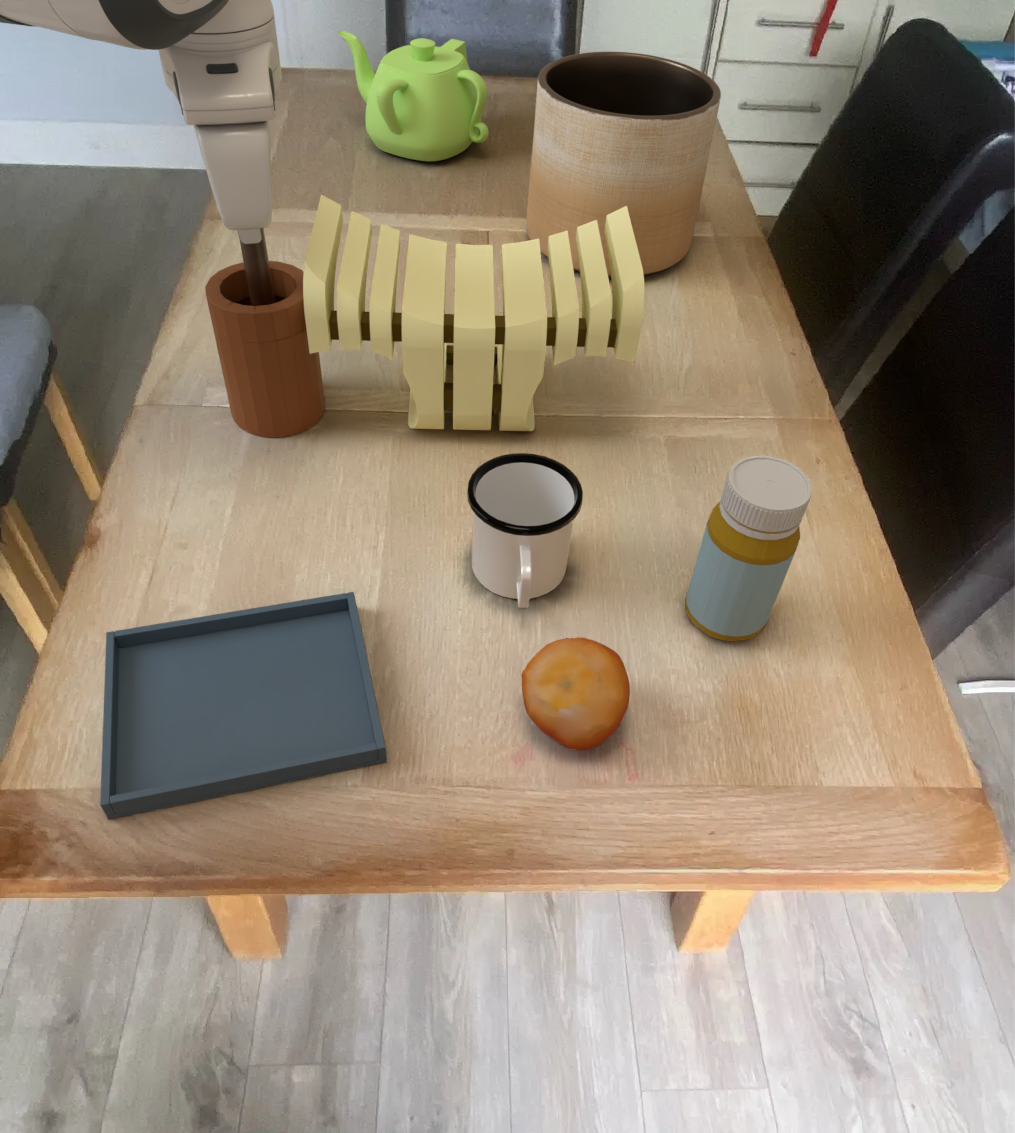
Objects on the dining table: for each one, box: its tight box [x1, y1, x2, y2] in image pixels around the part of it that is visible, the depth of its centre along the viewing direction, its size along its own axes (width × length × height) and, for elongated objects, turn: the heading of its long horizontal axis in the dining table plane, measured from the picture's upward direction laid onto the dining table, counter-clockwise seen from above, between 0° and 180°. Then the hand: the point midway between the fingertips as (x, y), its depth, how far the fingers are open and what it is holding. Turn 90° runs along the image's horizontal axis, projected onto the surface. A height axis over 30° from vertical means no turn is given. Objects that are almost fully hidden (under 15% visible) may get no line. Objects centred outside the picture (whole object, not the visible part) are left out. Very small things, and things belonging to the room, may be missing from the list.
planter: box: [526, 51, 722, 278], centre depth 114 cm, size 22×22×20 cm
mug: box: [466, 452, 584, 609], centre depth 76 cm, size 12×10×9 cm
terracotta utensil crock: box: [204, 260, 326, 438], centre depth 88 cm, size 9×9×14 cm
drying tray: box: [99, 591, 388, 820], centre depth 68 cm, size 19×15×2 cm
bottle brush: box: [237, 228, 275, 306], centre depth 83 cm, size 4×4×19 cm
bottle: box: [684, 454, 813, 642], centre depth 72 cm, size 7×7×15 cm
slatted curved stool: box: [303, 194, 645, 432], centre depth 90 cm, size 30×16×18 cm, turn 92°
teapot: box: [337, 30, 489, 162], centre depth 135 cm, size 19×20×14 cm
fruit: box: [521, 636, 631, 751], centre depth 67 cm, size 8×8×8 cm
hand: (249, 230), depth 79 cm, fingers closed on bottle brush, 2 cm apart
